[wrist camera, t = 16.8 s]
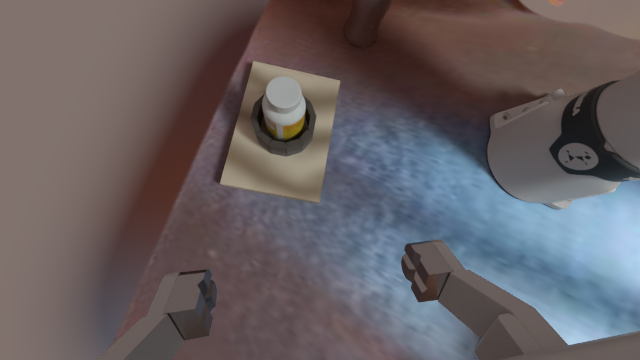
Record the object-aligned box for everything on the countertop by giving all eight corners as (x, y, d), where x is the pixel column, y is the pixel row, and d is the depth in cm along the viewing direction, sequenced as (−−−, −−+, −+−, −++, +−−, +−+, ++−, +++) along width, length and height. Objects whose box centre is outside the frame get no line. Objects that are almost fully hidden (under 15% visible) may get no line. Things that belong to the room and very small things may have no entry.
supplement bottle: (263, 139, 36) (252, 106, 27) (272, 107, 37) (265, 65, 28) (299, 148, 36) (301, 118, 27) (306, 116, 37) (311, 77, 28)
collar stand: (254, 67, 40) (249, 44, 35) (338, 86, 41) (344, 66, 36) (222, 185, 35) (211, 178, 30) (318, 203, 36) (322, 198, 31)
